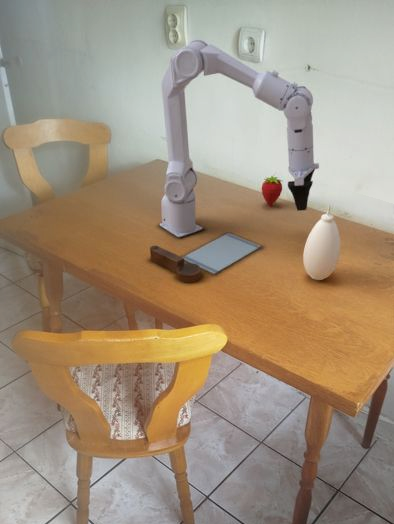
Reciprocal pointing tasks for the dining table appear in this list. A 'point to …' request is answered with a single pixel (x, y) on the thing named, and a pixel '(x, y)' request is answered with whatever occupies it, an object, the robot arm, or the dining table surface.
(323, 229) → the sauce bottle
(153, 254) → the spoon
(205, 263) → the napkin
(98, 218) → the dining table surface
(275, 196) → the strawberry
